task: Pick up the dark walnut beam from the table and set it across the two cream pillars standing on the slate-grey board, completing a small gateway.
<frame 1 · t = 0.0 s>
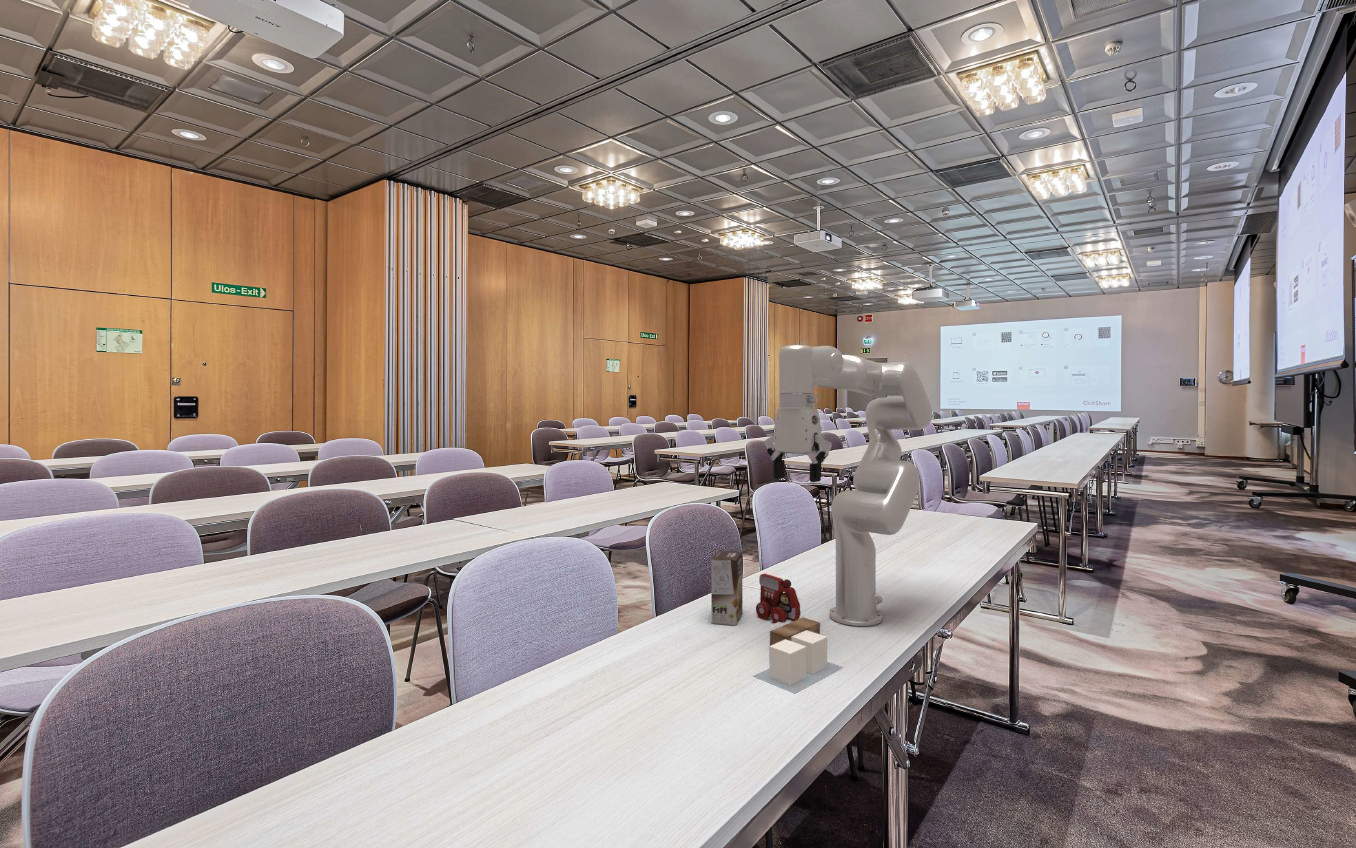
hand: (796, 479, 136), 37 cm above the table, tool pointing down, fingers open, 9 cm apart
slate board: (798, 676, 121), on the table
cream pillar 1: (787, 677, 118), point 1 cm above the table, touching slate board
coffee box: (727, 619, 154), on the table
toy fire truck: (778, 619, 153), on the table
cream pillar 2: (809, 666, 123), point 1 cm above the table, touching slate board
walnut beam: (795, 649, 135), on the table
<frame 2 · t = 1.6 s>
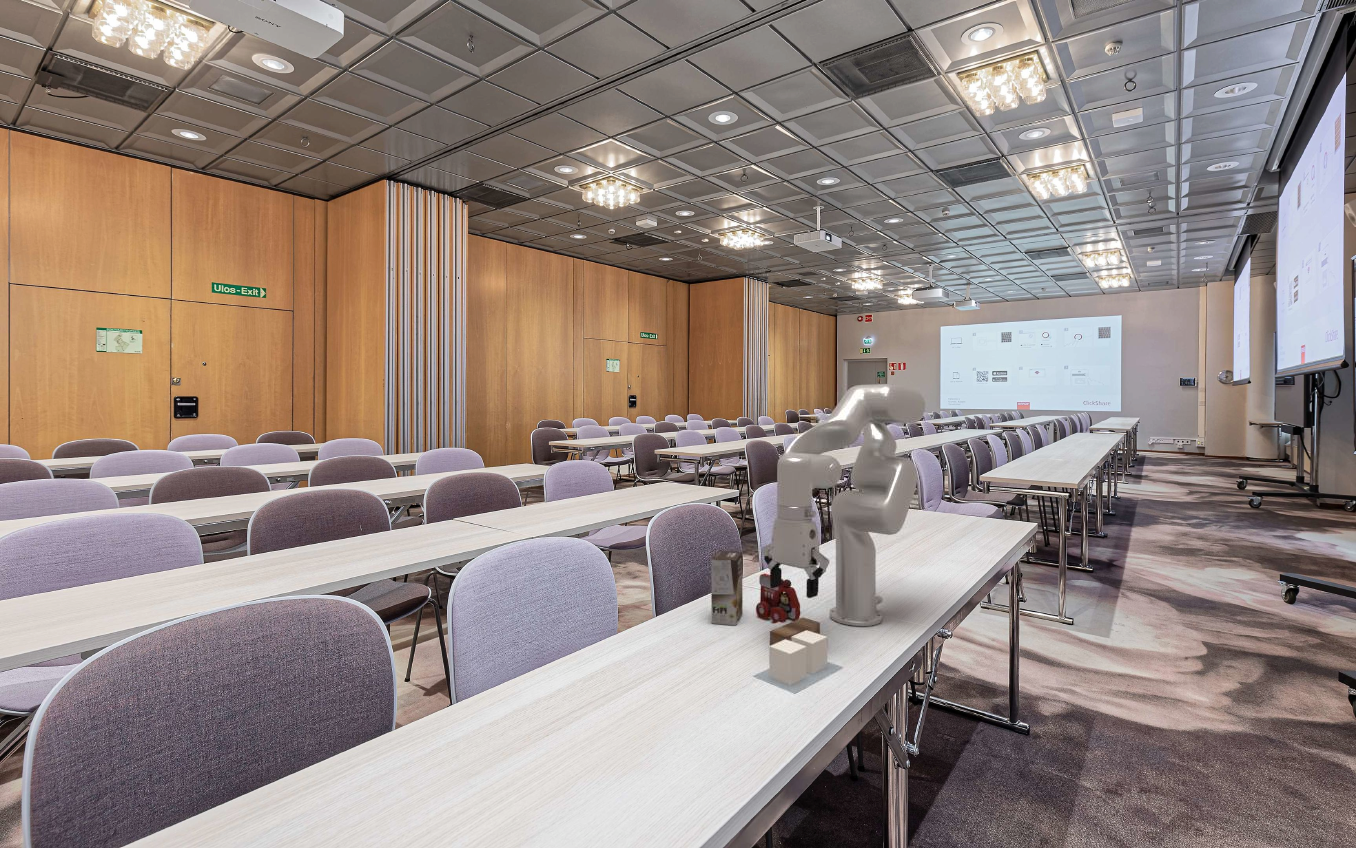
hand: (793, 591, 134), 13 cm above the table, tool pointing down, fingers open, 9 cm apart
nothing on the table moved.
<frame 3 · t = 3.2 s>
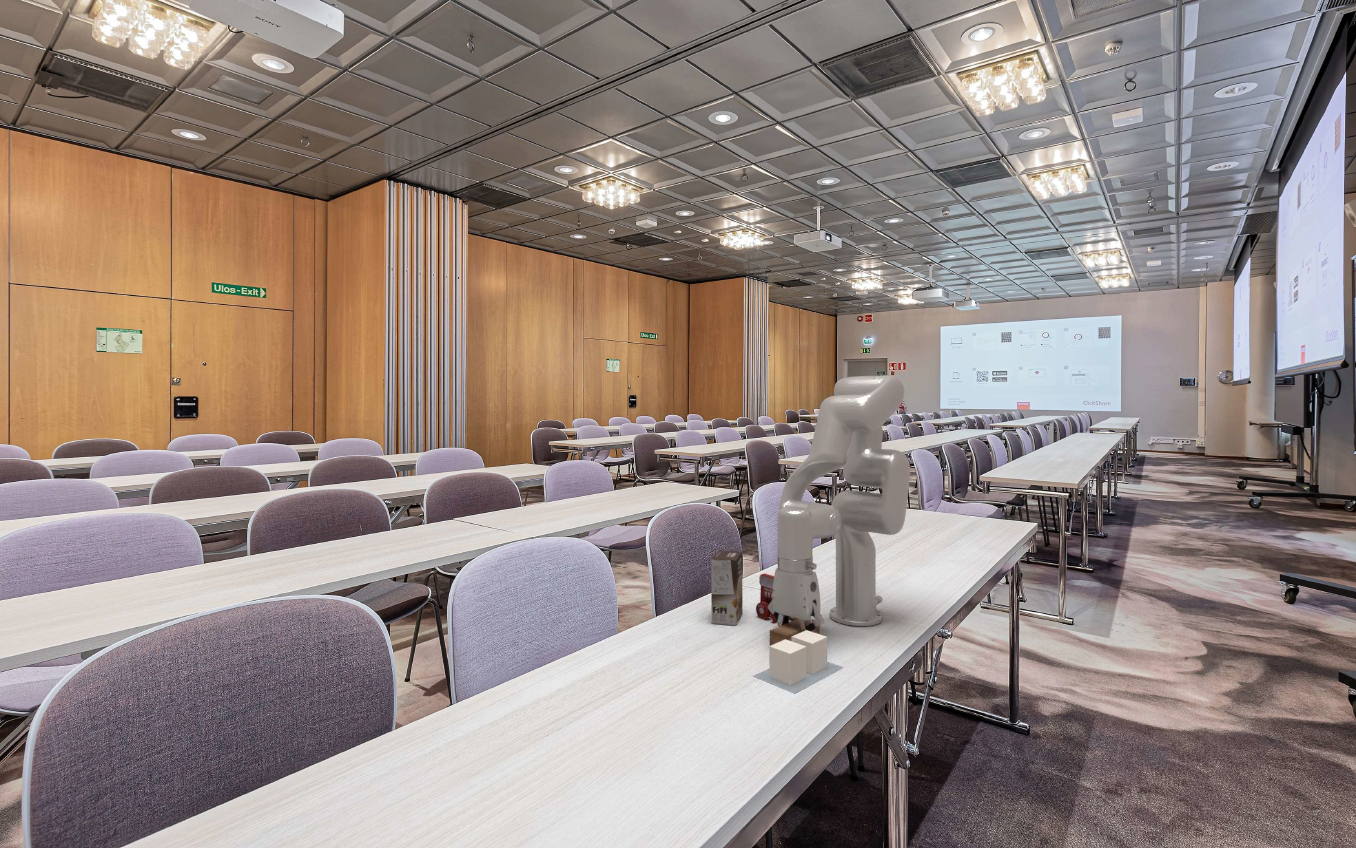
hand: (795, 646, 135), 0 cm above the table, tool pointing down, fingers closed on walnut beam, 4 cm apart
walnut beam: (795, 648, 135), on the table, touching gripper
everything else where it was.
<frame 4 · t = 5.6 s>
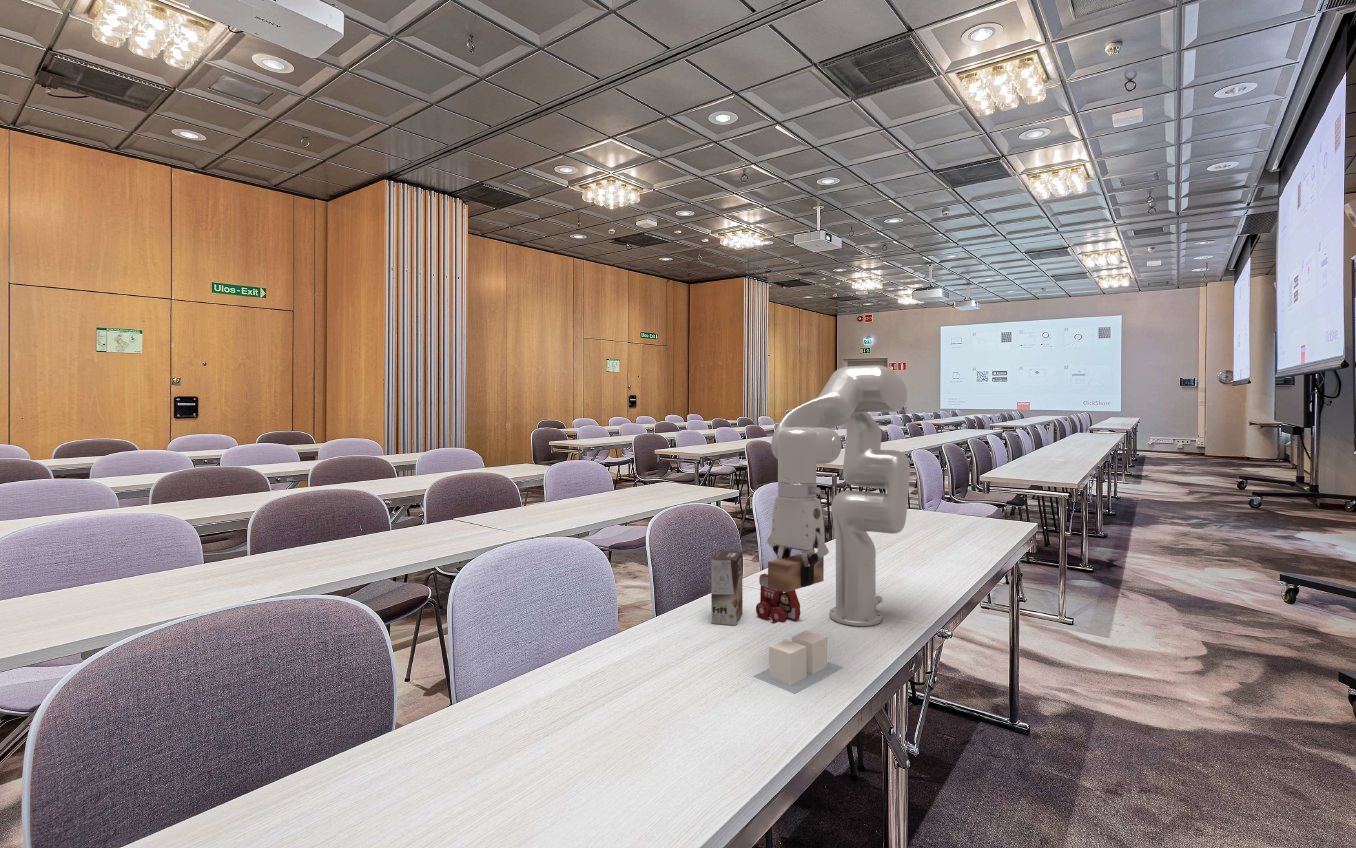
hand: (796, 581, 122), 18 cm above the table, tool pointing down, fingers closed on walnut beam, 4 cm apart
walnut beam: (796, 584, 122), point 18 cm above the table, touching gripper
everything else where it was.
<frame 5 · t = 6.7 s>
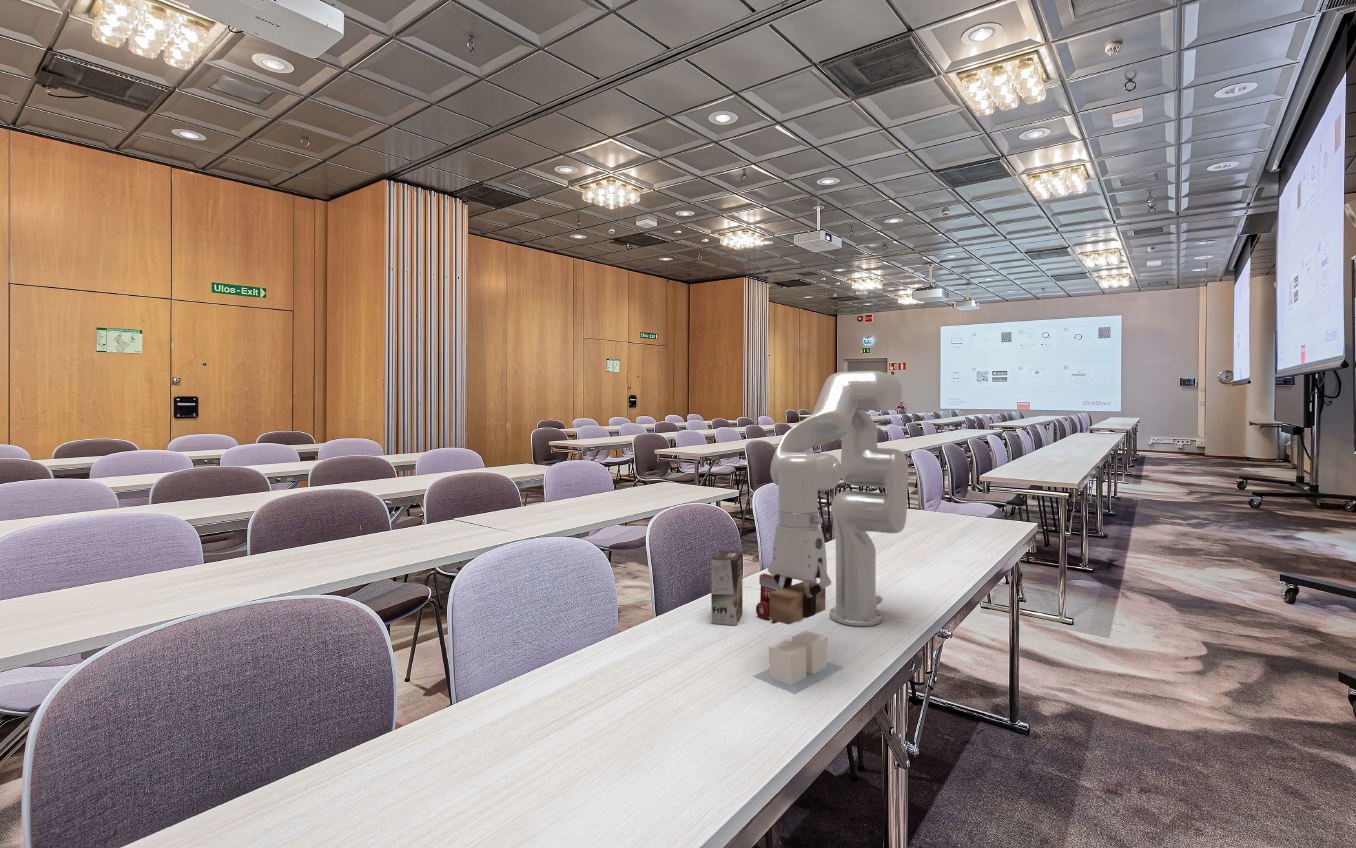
hand: (798, 612, 120), 13 cm above the table, tool pointing down, fingers closed on walnut beam, 4 cm apart
walnut beam: (798, 614, 120), point 12 cm above the table, touching gripper
everything else where it was.
when the fingers open (8 cm above the table, at t = 7.8 s): walnut beam stays where it is, resting on cream pillar 1, cream pillar 2.
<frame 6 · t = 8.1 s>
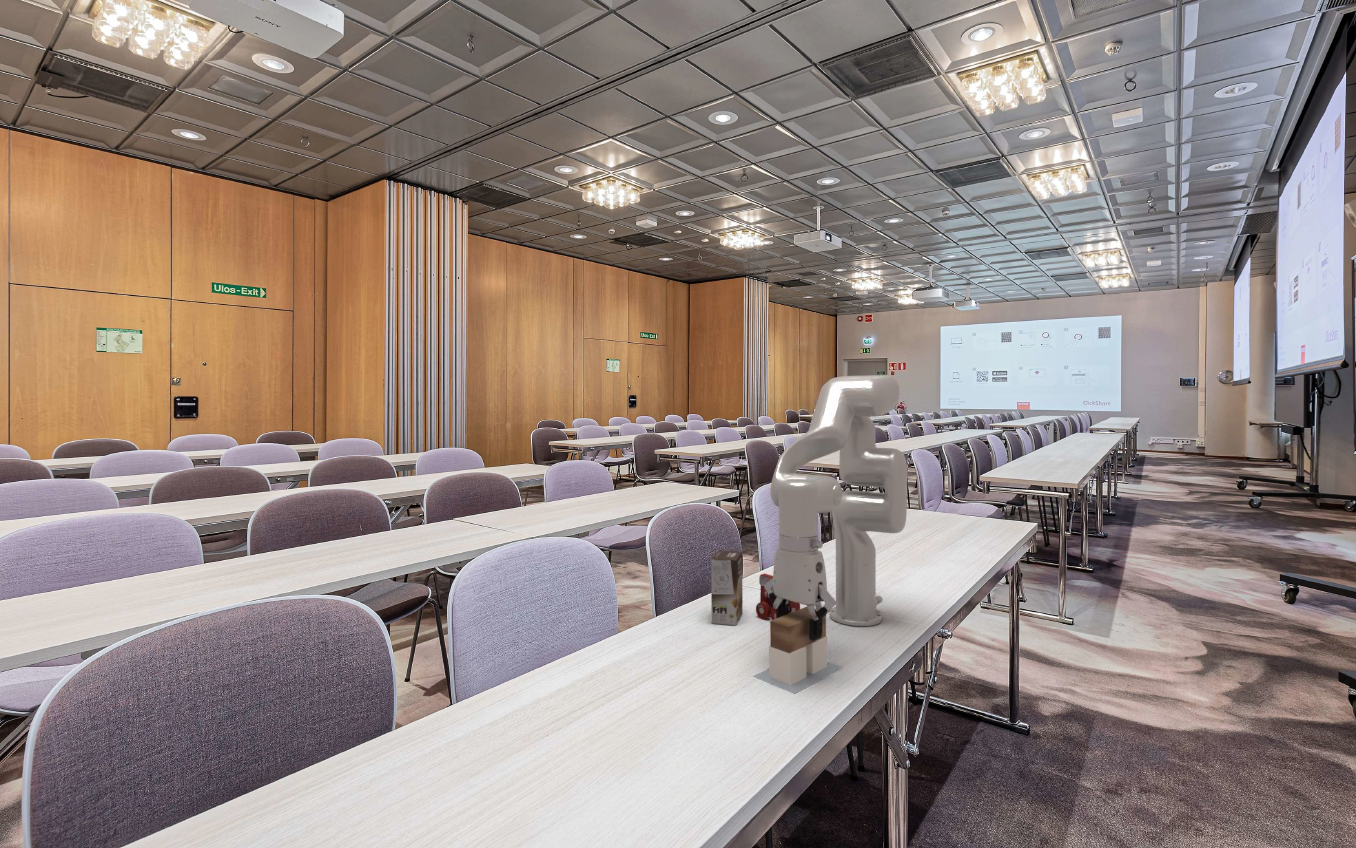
hand: (798, 632, 121), 9 cm above the table, tool pointing down, fingers open, 7 cm apart
cream pillar 1: (787, 677, 118), point 1 cm above the table, touching slate board, walnut beam
cream pillar 2: (809, 666, 123), point 1 cm above the table, touching slate board, walnut beam
walnut beam: (798, 641, 121), point 7 cm above the table, touching cream pillar 1, cream pillar 2
everything else where it was.
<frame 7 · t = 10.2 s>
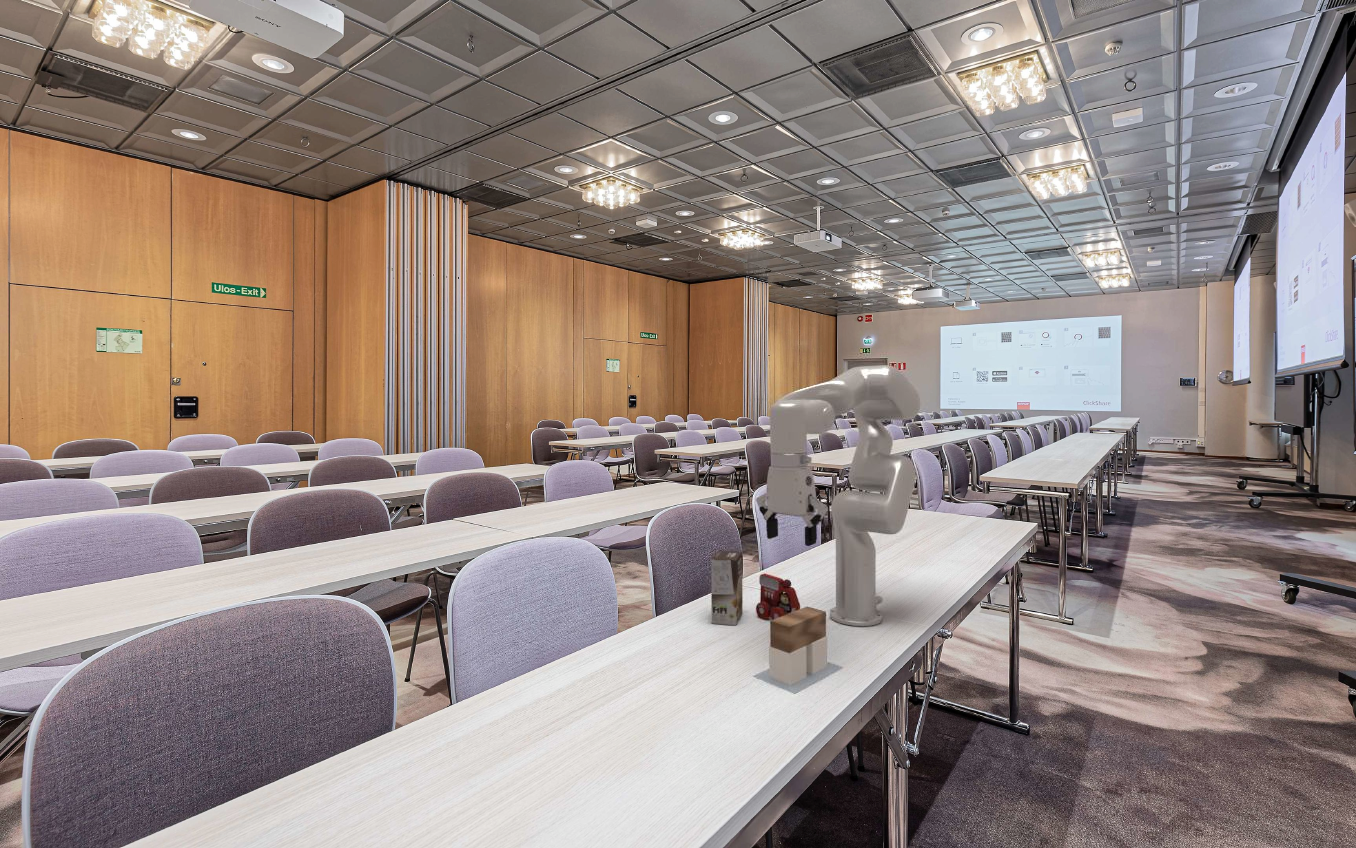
hand: (791, 541, 131), 24 cm above the table, tool pointing down, fingers open, 9 cm apart
nothing on the table moved.
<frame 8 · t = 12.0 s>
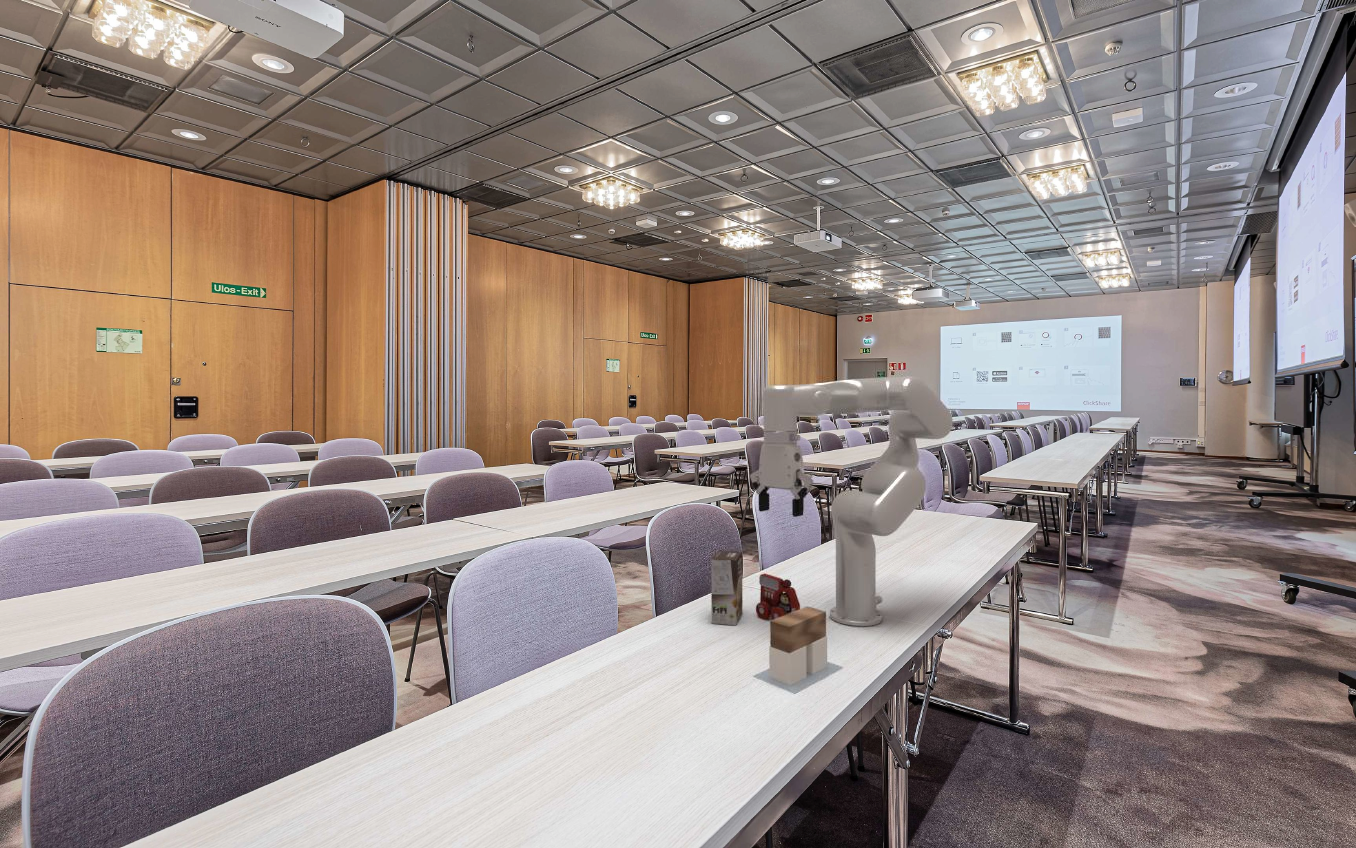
hand: (780, 513, 142), 28 cm above the table, tool pointing down, fingers open, 9 cm apart
nothing on the table moved.
at the end: walnut beam 0.0 cm from the target spot, point 7.0 cm above the table; walnut beam tilted 0°; the gripper is holding nothing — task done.
